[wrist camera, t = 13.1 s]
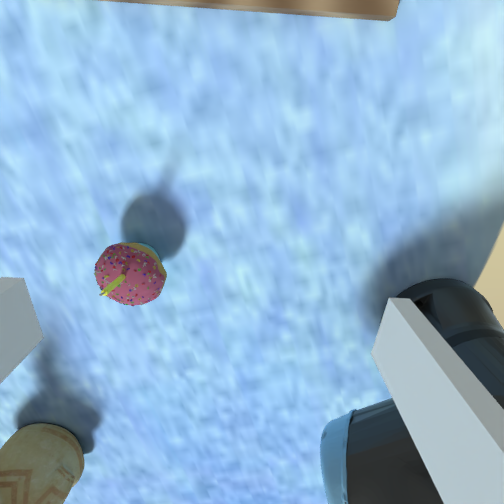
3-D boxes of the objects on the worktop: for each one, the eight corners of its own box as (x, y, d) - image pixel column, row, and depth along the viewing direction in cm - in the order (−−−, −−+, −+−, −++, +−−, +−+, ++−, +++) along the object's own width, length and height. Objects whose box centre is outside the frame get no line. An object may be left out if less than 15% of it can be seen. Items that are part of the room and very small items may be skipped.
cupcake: (109, 227, 38) (50, 272, 27) (173, 232, 38) (141, 279, 27) (116, 282, 41) (67, 341, 31) (175, 287, 42) (147, 347, 31)
